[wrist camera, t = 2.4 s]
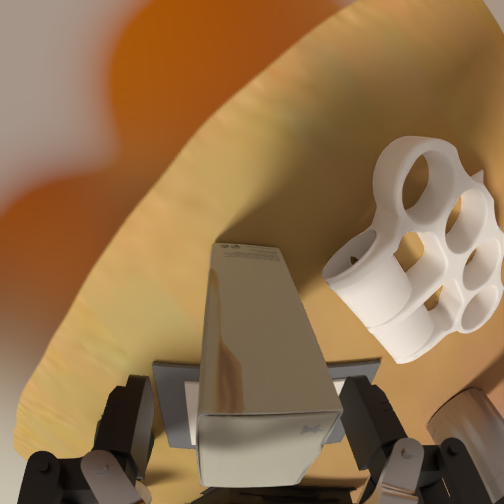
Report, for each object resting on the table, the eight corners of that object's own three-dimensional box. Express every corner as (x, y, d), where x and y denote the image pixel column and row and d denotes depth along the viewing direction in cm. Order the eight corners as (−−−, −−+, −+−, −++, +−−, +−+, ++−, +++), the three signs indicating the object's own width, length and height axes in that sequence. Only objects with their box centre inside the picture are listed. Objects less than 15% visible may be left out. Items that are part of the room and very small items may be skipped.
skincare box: (211, 240, 18) (192, 406, 7) (281, 246, 18) (352, 403, 7) (205, 326, 20) (197, 490, 9) (267, 330, 21) (299, 488, 10)
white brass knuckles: (284, 233, 19) (434, 99, 16) (400, 363, 25) (502, 264, 22) (296, 254, 16) (465, 98, 13) (415, 387, 21) (523, 278, 18)
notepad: (378, 359, 23) (382, 365, 23) (339, 439, 28) (341, 444, 27) (153, 362, 21) (151, 369, 21) (170, 444, 26) (169, 449, 25)
